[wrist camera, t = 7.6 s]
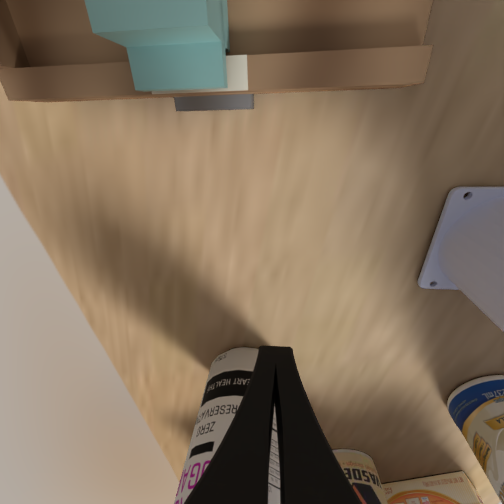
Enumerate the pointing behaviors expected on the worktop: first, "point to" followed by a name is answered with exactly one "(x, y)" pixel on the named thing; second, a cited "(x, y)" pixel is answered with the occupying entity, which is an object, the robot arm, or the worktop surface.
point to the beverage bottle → (483, 424)
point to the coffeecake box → (433, 490)
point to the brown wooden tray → (237, 60)
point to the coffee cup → (361, 475)
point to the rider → (167, 40)
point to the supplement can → (224, 420)
